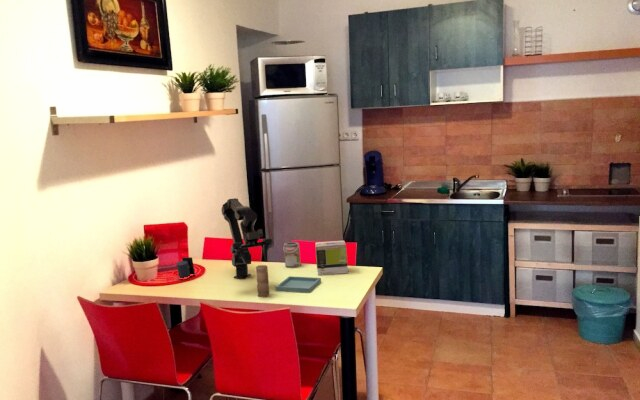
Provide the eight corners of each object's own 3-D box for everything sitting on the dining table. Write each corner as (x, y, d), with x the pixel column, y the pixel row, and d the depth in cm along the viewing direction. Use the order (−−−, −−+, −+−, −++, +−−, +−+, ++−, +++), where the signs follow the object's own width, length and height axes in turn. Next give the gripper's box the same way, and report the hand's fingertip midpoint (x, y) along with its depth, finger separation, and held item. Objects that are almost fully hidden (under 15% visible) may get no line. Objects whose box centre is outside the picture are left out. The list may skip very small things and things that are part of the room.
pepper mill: (261, 293, 245) (259, 265, 243) (271, 293, 244) (269, 265, 242) (256, 296, 241) (254, 268, 239) (266, 297, 239) (264, 268, 237)
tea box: (346, 268, 278) (345, 239, 276) (348, 273, 268) (346, 244, 266) (316, 270, 278) (315, 241, 275) (317, 275, 268) (315, 246, 265)
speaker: (187, 274, 281) (184, 255, 278) (195, 276, 278) (192, 257, 275) (176, 280, 275) (173, 260, 272) (184, 282, 272) (181, 262, 269)
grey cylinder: (298, 268, 282) (296, 245, 280) (282, 268, 284) (281, 245, 282) (302, 263, 291) (301, 241, 289) (287, 263, 293) (285, 241, 291)
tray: (289, 280, 262) (289, 276, 262) (321, 282, 257) (320, 277, 257) (275, 290, 247) (275, 286, 247) (309, 292, 242) (308, 288, 242)
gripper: (231, 226, 243) (238, 258, 236) (271, 221, 250) (279, 251, 244) (227, 237, 252) (234, 268, 246) (266, 232, 260) (274, 262, 253)
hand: (256, 262), depth 247 cm, fingers open, 9 cm apart
